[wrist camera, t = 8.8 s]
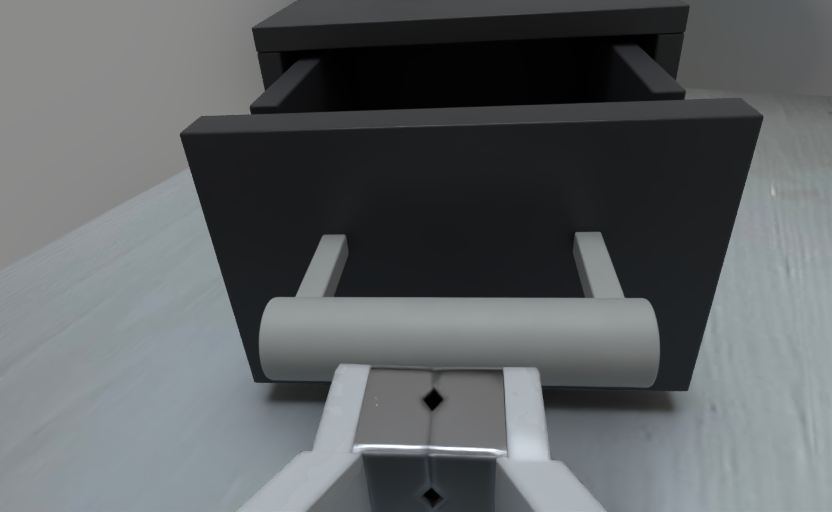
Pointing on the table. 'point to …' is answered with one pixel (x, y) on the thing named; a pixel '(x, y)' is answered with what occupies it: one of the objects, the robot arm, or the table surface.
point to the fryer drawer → (475, 211)
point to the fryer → (464, 26)
